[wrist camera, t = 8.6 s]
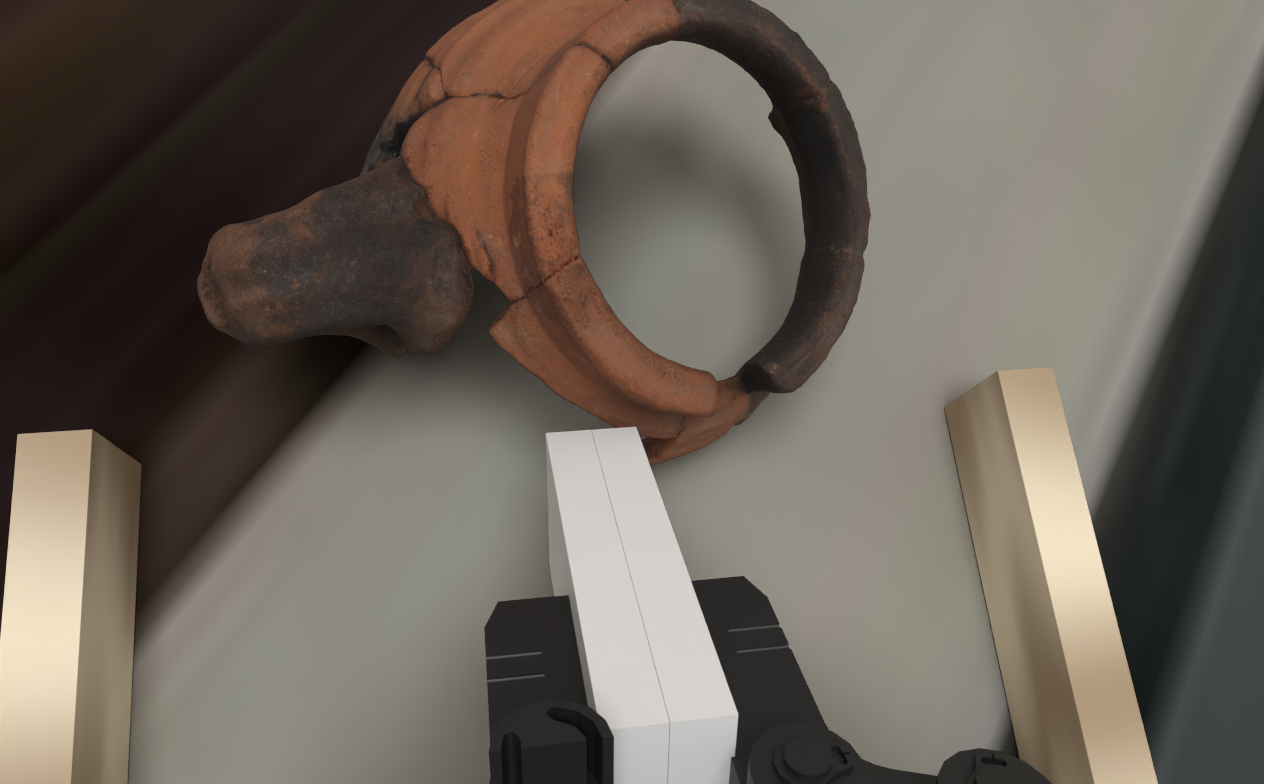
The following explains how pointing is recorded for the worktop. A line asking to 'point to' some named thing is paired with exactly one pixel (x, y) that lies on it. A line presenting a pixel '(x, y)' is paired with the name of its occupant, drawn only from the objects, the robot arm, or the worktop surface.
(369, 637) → the worktop surface
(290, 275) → the broken clay vessel
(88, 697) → the guide channel
